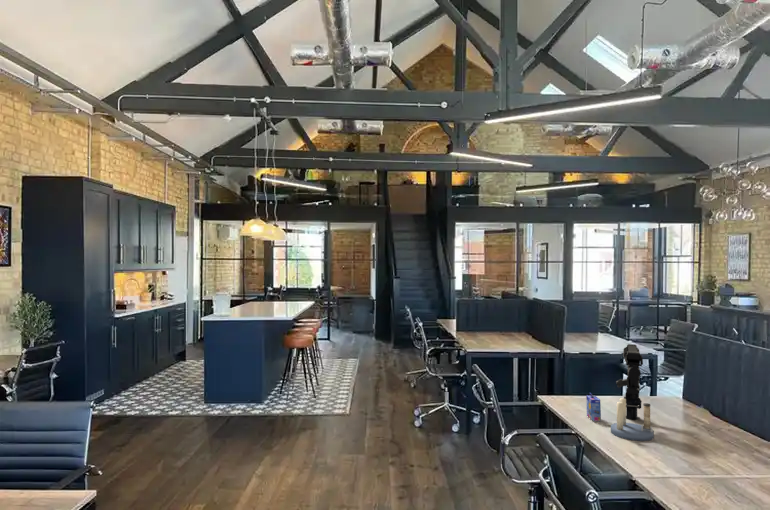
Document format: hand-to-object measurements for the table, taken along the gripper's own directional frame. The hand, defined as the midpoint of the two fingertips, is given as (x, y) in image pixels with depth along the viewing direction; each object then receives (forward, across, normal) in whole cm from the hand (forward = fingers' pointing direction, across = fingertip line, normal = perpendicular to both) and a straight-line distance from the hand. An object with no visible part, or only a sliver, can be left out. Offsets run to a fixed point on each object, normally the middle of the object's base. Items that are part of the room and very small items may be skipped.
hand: (632, 404), depth 278 cm
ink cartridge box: (+12, -6, -20) cm, 24 cm away
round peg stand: (+13, +14, 0) cm, 19 cm away
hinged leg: (+8, +15, +7) cm, 18 cm away
